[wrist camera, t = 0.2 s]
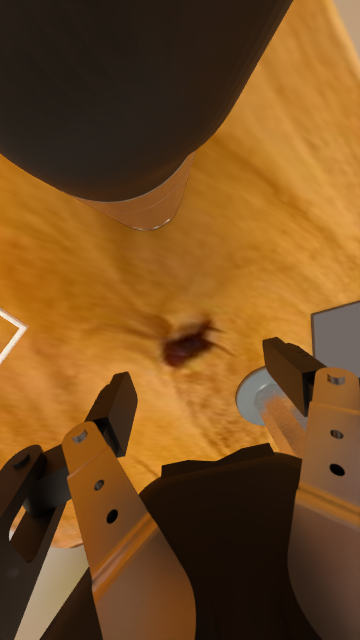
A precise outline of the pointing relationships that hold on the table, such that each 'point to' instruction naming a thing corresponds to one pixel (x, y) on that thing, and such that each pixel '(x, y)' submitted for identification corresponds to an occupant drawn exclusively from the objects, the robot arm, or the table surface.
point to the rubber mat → (338, 337)
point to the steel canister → (282, 419)
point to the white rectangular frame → (16, 337)
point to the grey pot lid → (252, 394)
